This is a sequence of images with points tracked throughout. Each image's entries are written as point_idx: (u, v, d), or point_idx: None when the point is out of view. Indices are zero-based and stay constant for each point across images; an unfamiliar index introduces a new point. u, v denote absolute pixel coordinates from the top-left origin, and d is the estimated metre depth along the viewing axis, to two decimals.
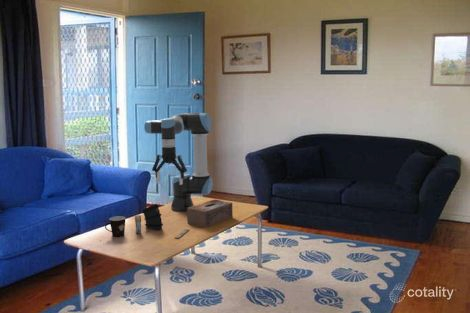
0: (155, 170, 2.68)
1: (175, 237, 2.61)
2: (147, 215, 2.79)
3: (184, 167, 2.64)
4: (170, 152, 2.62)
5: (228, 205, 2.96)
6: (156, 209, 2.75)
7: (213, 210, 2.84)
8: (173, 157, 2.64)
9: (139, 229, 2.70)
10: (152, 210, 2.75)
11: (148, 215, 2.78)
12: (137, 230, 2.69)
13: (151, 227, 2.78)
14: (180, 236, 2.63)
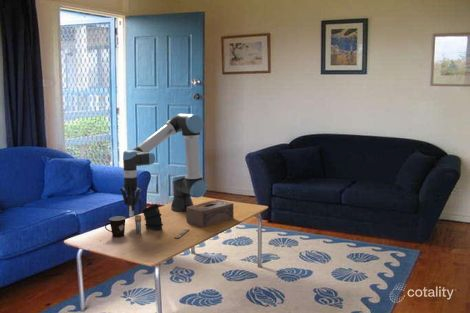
0: (127, 204, 2.80)
1: (175, 237, 2.61)
2: (147, 215, 2.79)
3: (137, 201, 2.79)
4: (131, 182, 2.75)
5: (228, 206, 2.94)
6: (156, 209, 2.75)
7: (211, 210, 2.84)
8: (134, 187, 2.77)
9: (139, 229, 2.70)
10: (152, 210, 2.75)
11: (148, 215, 2.78)
12: (137, 230, 2.69)
13: (151, 227, 2.78)
14: (180, 236, 2.63)
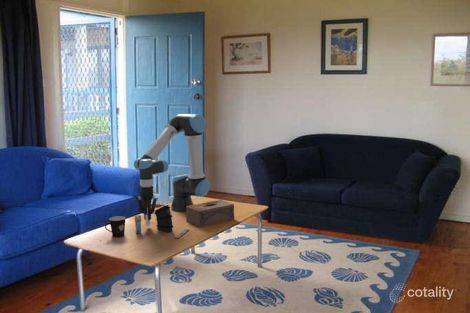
0: (143, 213, 2.78)
1: (175, 237, 2.61)
2: (158, 216, 2.76)
3: (153, 210, 2.77)
4: (147, 192, 2.73)
5: (228, 206, 2.93)
6: (167, 210, 2.71)
7: (209, 210, 2.84)
8: (150, 196, 2.75)
9: (139, 229, 2.70)
10: (163, 211, 2.72)
11: (159, 216, 2.75)
12: (137, 230, 2.69)
13: (162, 228, 2.75)
14: (180, 236, 2.63)
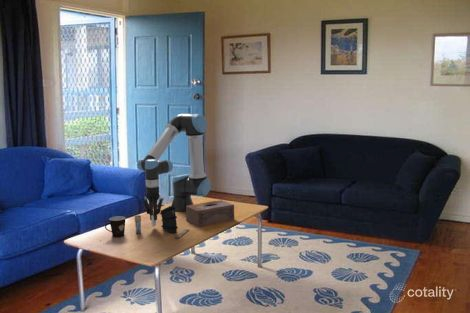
0: (149, 213, 2.77)
1: (175, 237, 2.61)
2: (164, 216, 2.75)
3: (159, 210, 2.76)
4: (153, 192, 2.72)
5: (228, 207, 2.92)
6: (172, 211, 2.70)
7: (208, 210, 2.84)
8: (156, 197, 2.74)
9: (139, 229, 2.70)
10: (168, 212, 2.71)
11: (165, 216, 2.74)
12: (137, 230, 2.69)
13: (166, 229, 2.73)
14: (180, 236, 2.63)
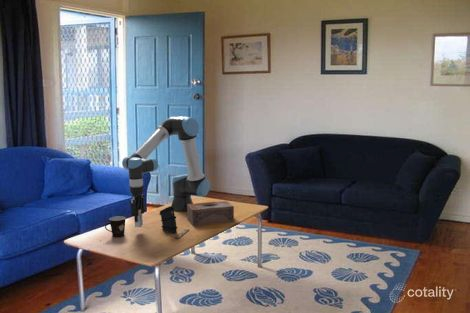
0: None
1: (175, 237, 2.61)
2: (163, 217, 2.74)
3: (133, 212, 2.64)
4: (130, 191, 2.66)
5: (227, 208, 2.89)
6: (171, 211, 2.69)
7: (204, 210, 2.85)
8: None
9: None
10: (167, 212, 2.70)
11: (164, 217, 2.74)
12: None
13: (166, 229, 2.73)
14: (180, 236, 2.63)
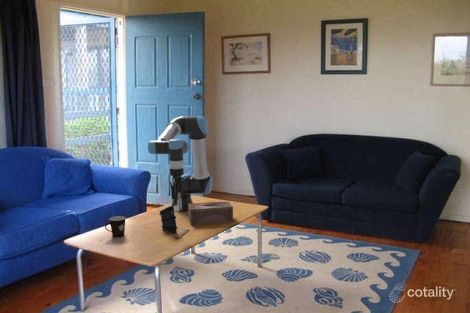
0: None
1: (175, 237, 2.61)
2: (163, 217, 2.74)
3: (172, 195, 2.55)
4: (170, 173, 2.56)
5: (226, 208, 2.88)
6: (171, 211, 2.69)
7: (202, 210, 2.85)
8: None
9: (179, 206, 2.60)
10: (167, 212, 2.70)
11: (164, 217, 2.74)
12: None
13: (166, 229, 2.73)
14: (180, 236, 2.63)
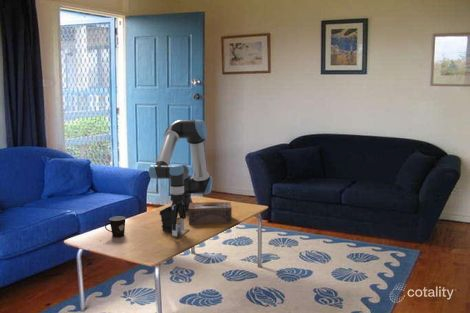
0: (180, 216, 2.68)
1: (175, 237, 2.61)
2: (163, 217, 2.74)
3: (171, 219, 2.54)
4: None
5: (224, 209, 2.86)
6: None
7: (201, 210, 2.86)
8: None
9: (180, 232, 2.62)
10: (167, 212, 2.70)
11: (164, 217, 2.74)
12: (178, 233, 2.62)
13: (166, 229, 2.73)
14: None
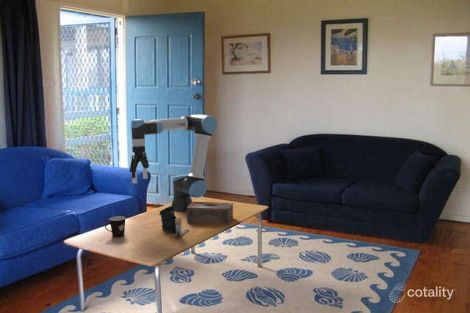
0: None
1: (175, 237, 2.61)
2: (163, 217, 2.74)
3: (131, 167, 2.74)
4: (132, 150, 2.80)
5: (221, 210, 2.84)
6: (171, 211, 2.69)
7: (198, 209, 2.87)
8: None
9: (180, 232, 2.62)
10: (167, 212, 2.70)
11: (164, 217, 2.74)
12: (178, 233, 2.62)
13: (166, 229, 2.73)
14: None
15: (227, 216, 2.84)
